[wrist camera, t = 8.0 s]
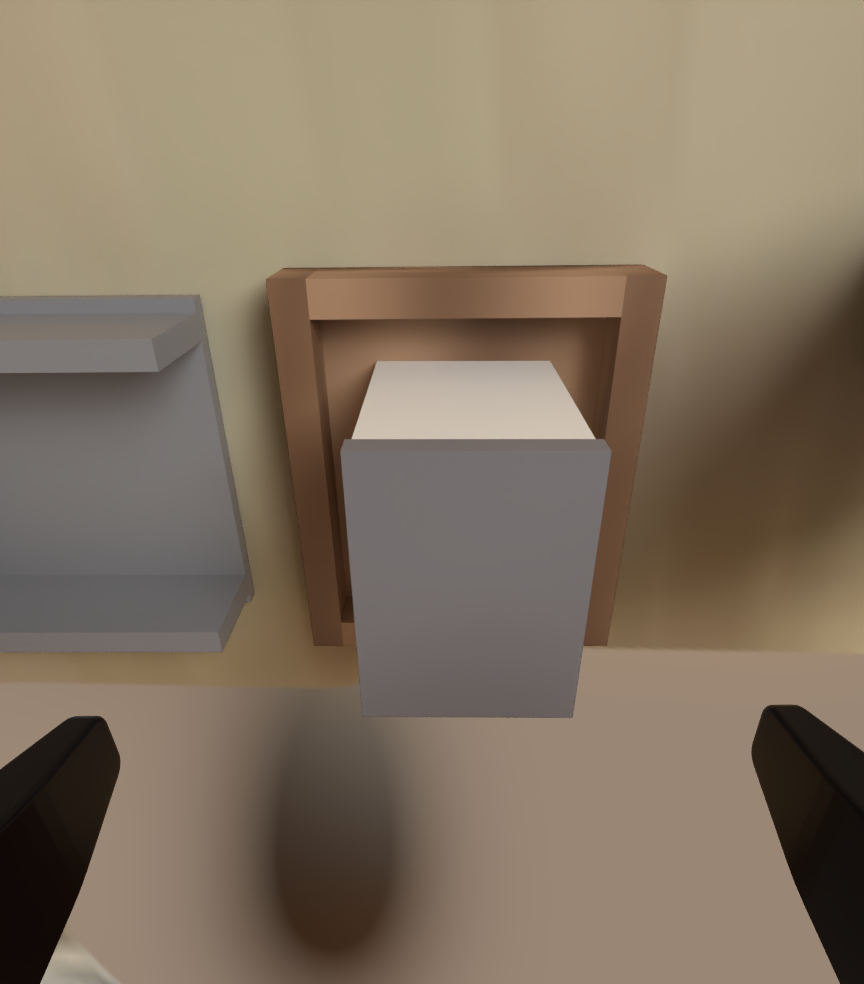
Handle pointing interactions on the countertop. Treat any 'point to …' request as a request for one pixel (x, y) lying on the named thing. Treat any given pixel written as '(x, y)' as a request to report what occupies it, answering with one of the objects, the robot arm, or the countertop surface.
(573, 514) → the grey-fronted drawer box
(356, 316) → the walnut tray
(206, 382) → the grey drawer cabinet
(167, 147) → the countertop surface
